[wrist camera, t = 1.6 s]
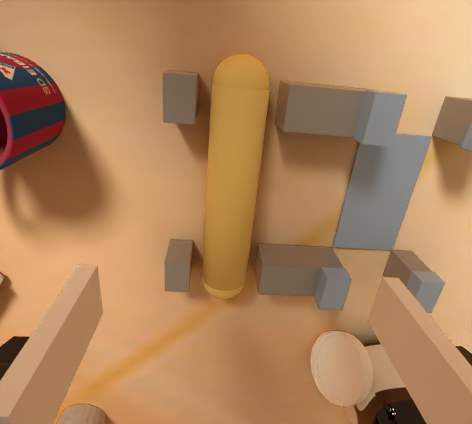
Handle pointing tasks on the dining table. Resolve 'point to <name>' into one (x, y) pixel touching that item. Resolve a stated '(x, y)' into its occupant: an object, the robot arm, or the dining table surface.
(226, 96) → the yellow round-top post
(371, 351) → the spread jar
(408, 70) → the dining table surface
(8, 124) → the mug
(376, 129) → the grey block frame
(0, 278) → the washcloth
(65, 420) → the house plant
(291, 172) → the dining table surface
